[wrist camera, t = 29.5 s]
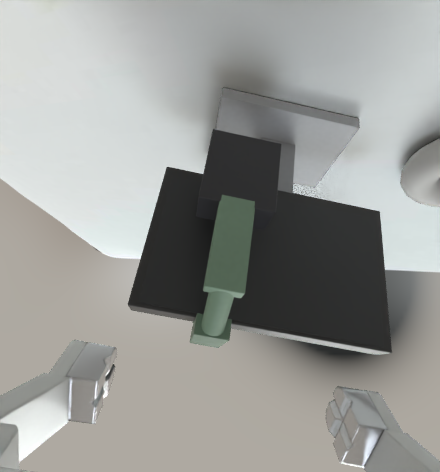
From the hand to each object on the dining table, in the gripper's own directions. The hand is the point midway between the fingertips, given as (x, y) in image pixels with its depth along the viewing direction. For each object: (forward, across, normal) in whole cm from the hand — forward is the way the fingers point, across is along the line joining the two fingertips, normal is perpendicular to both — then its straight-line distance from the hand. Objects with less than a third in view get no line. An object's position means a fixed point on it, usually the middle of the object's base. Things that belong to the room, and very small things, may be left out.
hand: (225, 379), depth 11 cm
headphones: (+20, 0, -4) cm, 20 cm away
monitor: (+25, -4, -9) cm, 27 cm away
